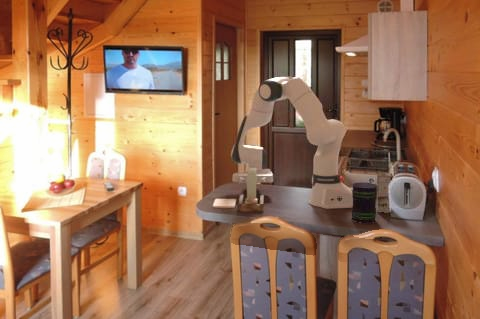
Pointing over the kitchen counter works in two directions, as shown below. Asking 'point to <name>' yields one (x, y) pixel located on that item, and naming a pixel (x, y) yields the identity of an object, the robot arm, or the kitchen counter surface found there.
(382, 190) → the coffee box
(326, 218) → the kitchen counter surface
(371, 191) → the storage jar
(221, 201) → the pad
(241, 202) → the offcut rack
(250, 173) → the tall board
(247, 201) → the offcut stack
